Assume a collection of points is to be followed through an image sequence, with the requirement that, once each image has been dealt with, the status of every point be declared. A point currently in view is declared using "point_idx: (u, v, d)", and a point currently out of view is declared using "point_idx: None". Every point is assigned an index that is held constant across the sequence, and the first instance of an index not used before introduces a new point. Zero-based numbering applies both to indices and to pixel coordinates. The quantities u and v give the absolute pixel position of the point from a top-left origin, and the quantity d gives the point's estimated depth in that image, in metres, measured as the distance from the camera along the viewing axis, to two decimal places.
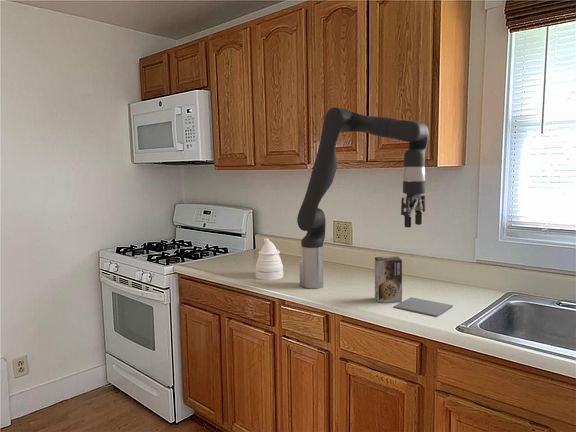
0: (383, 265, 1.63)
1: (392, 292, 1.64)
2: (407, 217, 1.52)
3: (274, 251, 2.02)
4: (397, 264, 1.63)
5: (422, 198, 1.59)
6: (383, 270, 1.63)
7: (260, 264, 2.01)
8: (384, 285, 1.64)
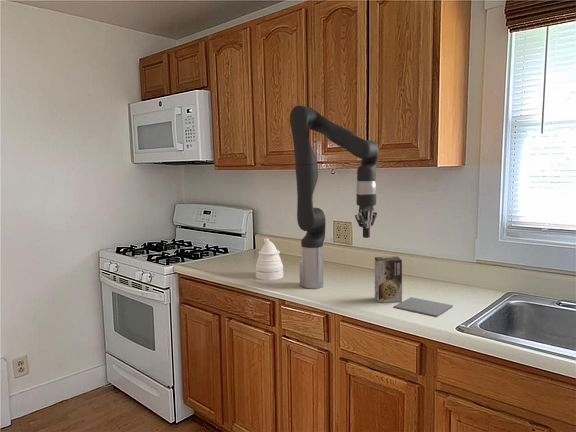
0: (383, 265, 1.63)
1: (392, 292, 1.64)
2: (365, 229, 1.70)
3: (274, 251, 2.02)
4: (397, 264, 1.63)
5: (374, 213, 1.74)
6: (383, 270, 1.63)
7: (260, 264, 2.01)
8: (384, 285, 1.64)
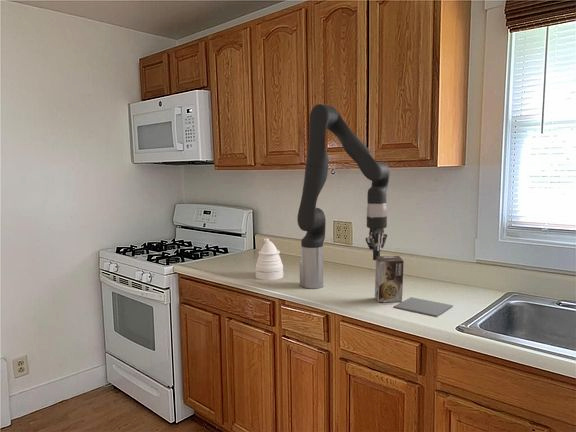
0: (384, 266, 1.62)
1: (392, 292, 1.64)
2: (375, 251, 1.68)
3: (274, 251, 2.02)
4: (398, 265, 1.62)
5: (384, 235, 1.72)
6: (384, 271, 1.62)
7: (260, 264, 2.01)
8: (385, 285, 1.63)
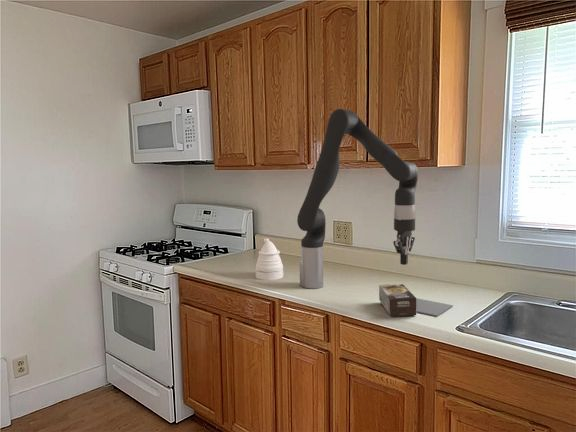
0: None
1: None
2: (403, 255, 1.60)
3: (274, 251, 2.02)
4: None
5: (412, 238, 1.64)
6: None
7: (260, 264, 2.01)
8: None
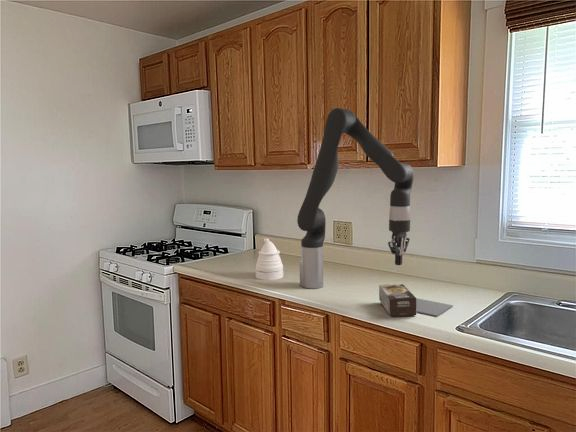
0: None
1: None
2: (397, 256, 1.62)
3: (274, 251, 2.02)
4: None
5: (406, 239, 1.66)
6: None
7: (260, 264, 2.01)
8: None
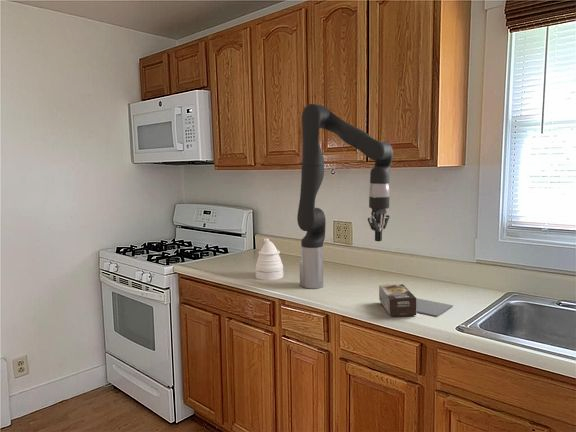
0: None
1: None
2: (377, 232, 1.66)
3: (274, 251, 2.02)
4: None
5: (386, 216, 1.70)
6: None
7: (260, 264, 2.01)
8: None
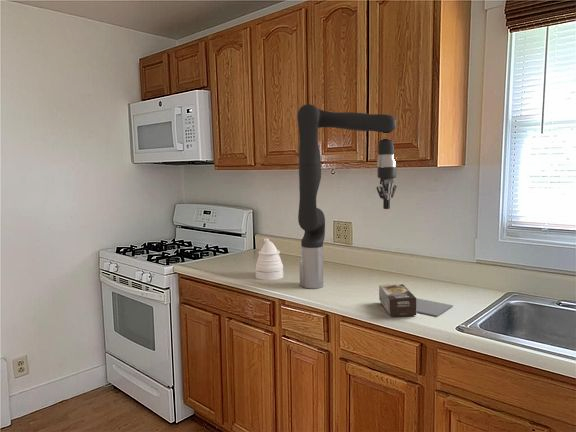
0: None
1: None
2: (385, 200, 1.78)
3: (274, 251, 2.02)
4: None
5: (394, 186, 1.82)
6: None
7: (260, 264, 2.01)
8: None
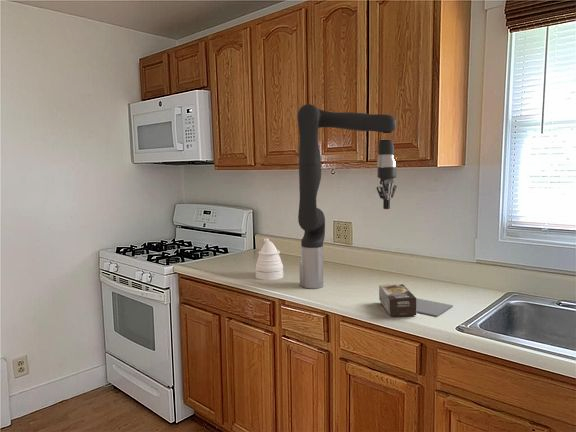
0: None
1: None
2: (385, 200, 1.78)
3: (274, 251, 2.02)
4: None
5: (394, 186, 1.82)
6: None
7: (260, 264, 2.01)
8: None
